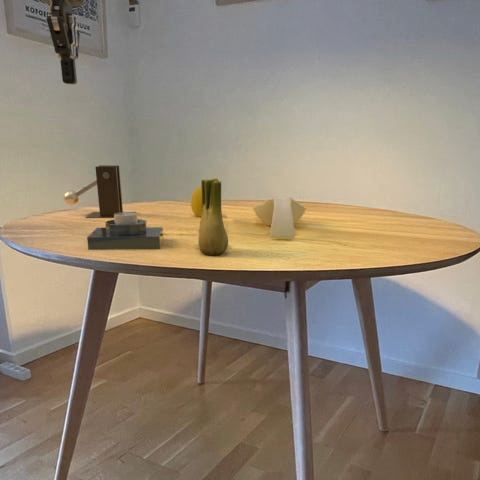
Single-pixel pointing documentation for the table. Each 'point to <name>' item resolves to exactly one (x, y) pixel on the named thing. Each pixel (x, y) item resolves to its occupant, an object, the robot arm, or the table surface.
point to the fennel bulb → (212, 219)
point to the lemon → (197, 201)
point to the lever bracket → (108, 191)
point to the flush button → (125, 218)
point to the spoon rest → (280, 216)
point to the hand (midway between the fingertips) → (70, 83)
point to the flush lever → (77, 193)
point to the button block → (125, 236)
